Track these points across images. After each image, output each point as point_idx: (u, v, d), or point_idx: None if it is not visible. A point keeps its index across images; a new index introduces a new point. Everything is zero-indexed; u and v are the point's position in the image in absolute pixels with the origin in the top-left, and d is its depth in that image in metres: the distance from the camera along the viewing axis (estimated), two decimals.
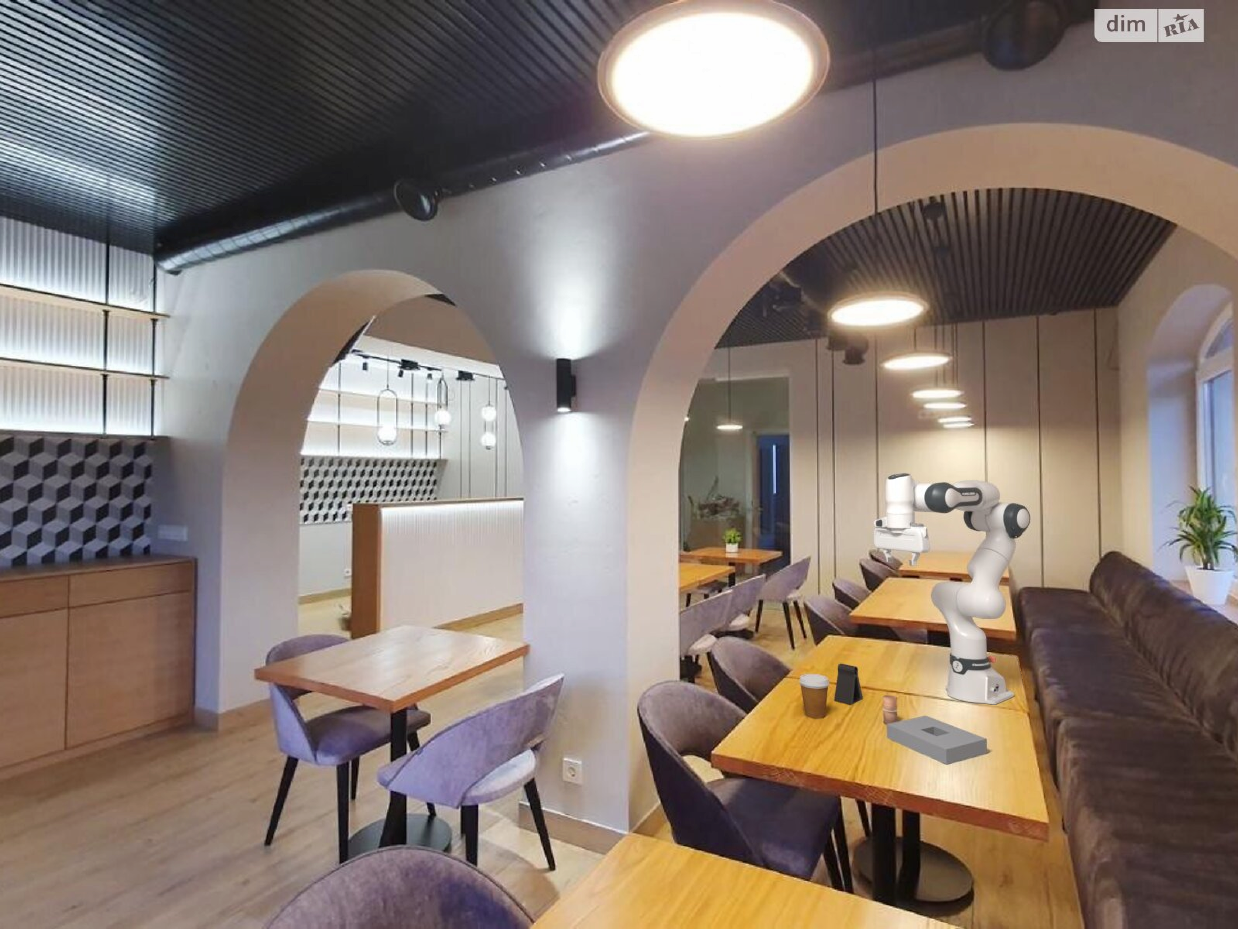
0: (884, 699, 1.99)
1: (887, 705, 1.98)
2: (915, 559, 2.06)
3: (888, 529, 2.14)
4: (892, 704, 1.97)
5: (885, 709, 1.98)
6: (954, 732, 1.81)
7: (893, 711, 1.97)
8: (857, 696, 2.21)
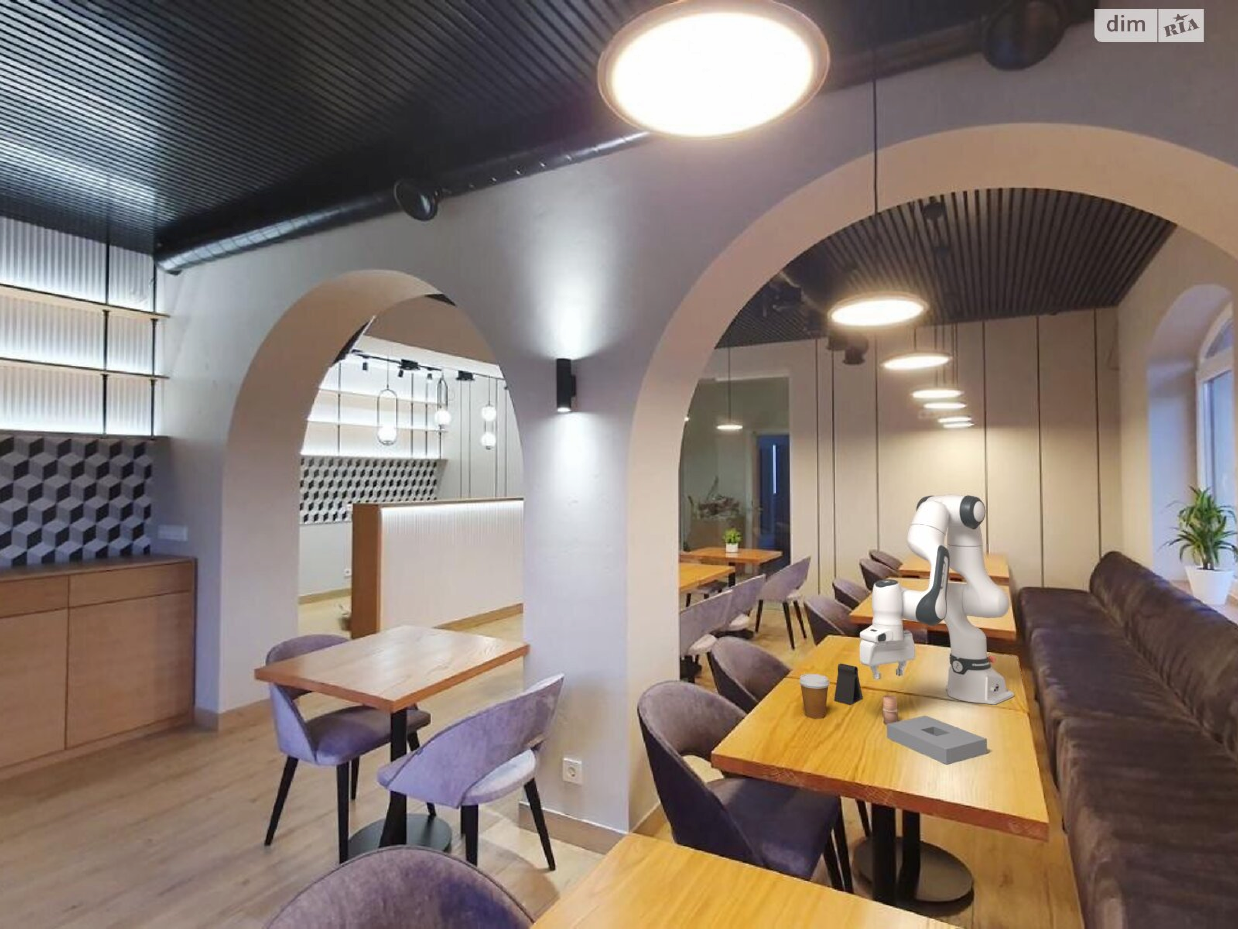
0: (884, 699, 1.99)
1: (887, 705, 1.98)
2: None
3: (885, 642, 1.97)
4: (892, 704, 1.97)
5: (885, 709, 1.98)
6: (954, 732, 1.81)
7: (893, 711, 1.97)
8: (857, 696, 2.21)
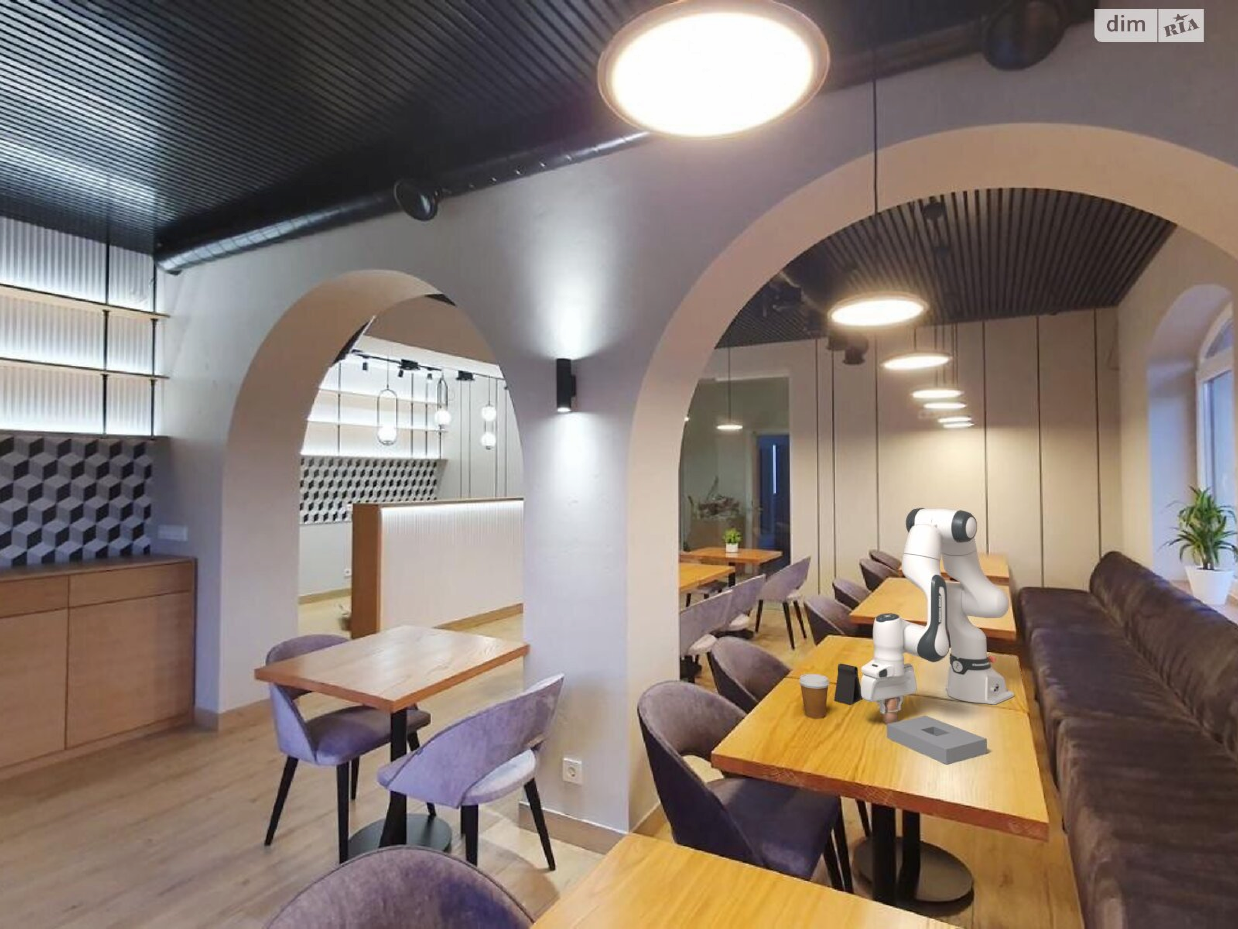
0: None
1: (887, 704, 1.98)
2: None
3: None
4: (892, 704, 1.97)
5: None
6: (954, 732, 1.81)
7: (893, 711, 1.97)
8: (857, 696, 2.21)
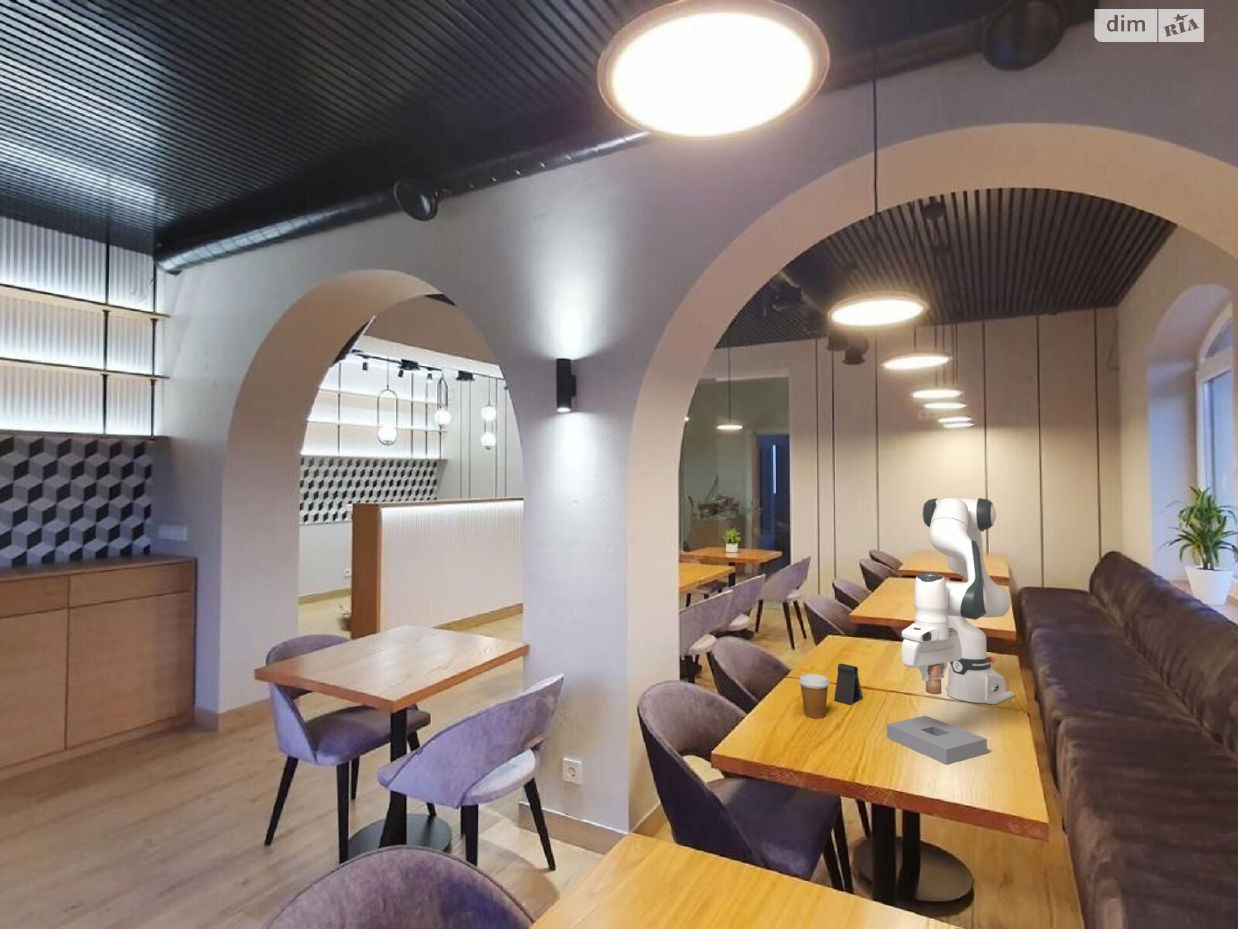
0: None
1: (930, 671, 1.81)
2: None
3: None
4: (936, 671, 1.81)
5: None
6: (954, 732, 1.81)
7: (937, 678, 1.80)
8: (857, 696, 2.21)
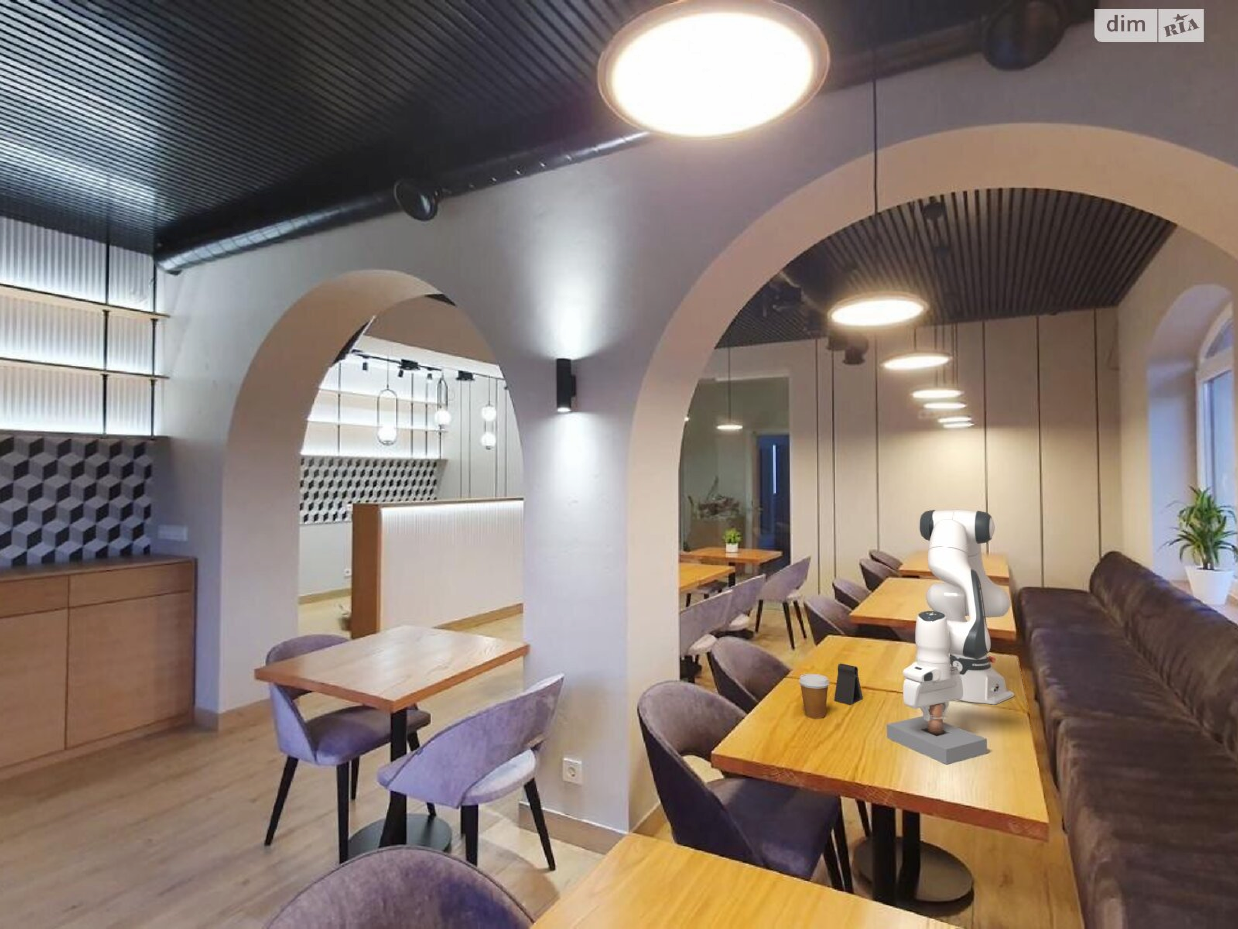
0: None
1: (931, 711, 1.81)
2: None
3: None
4: (938, 711, 1.80)
5: None
6: (954, 732, 1.81)
7: (938, 718, 1.80)
8: (857, 696, 2.21)
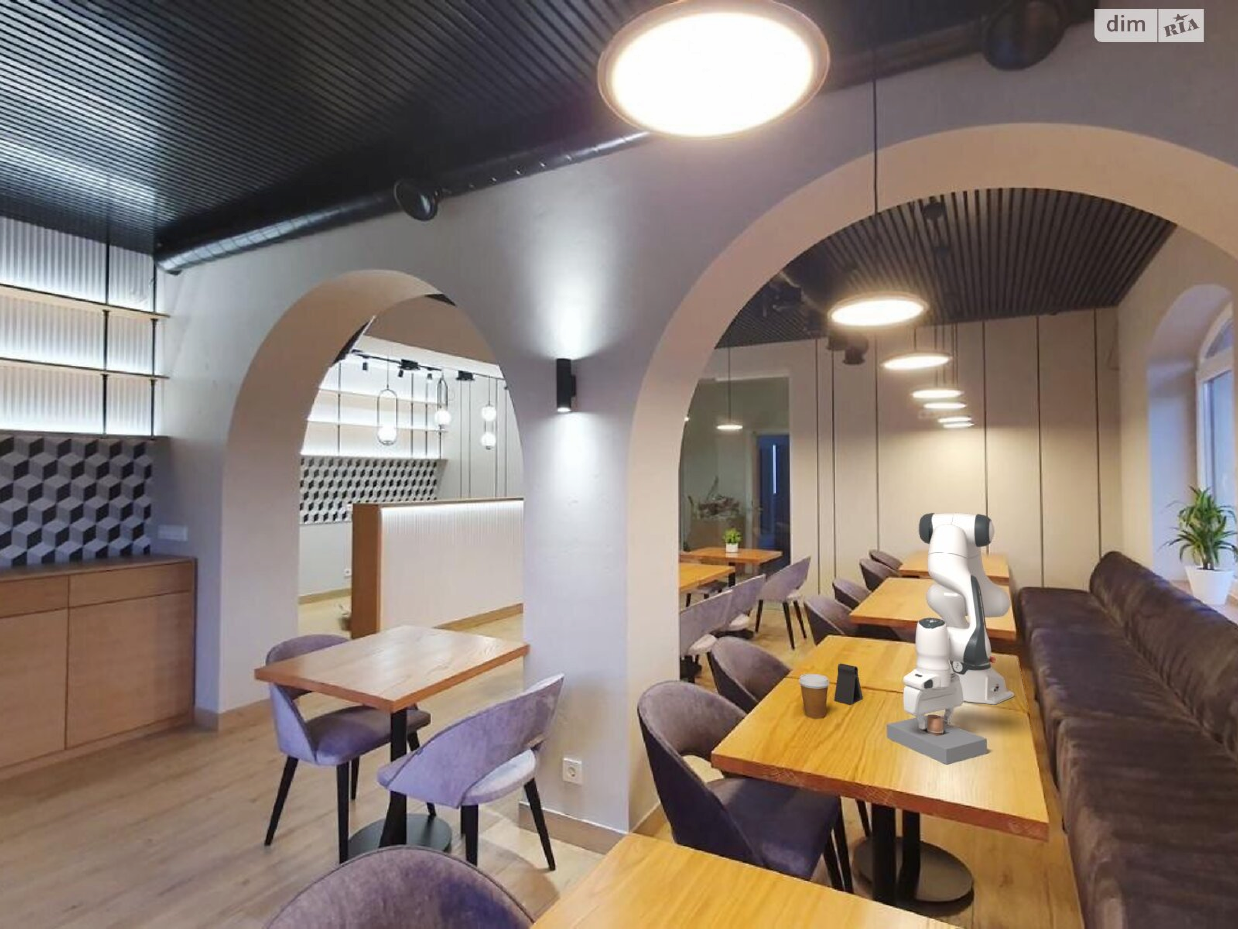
0: (929, 719, 1.82)
1: (932, 725, 1.81)
2: None
3: None
4: (938, 725, 1.80)
5: (930, 730, 1.81)
6: (954, 732, 1.81)
7: (939, 732, 1.80)
8: (857, 696, 2.21)
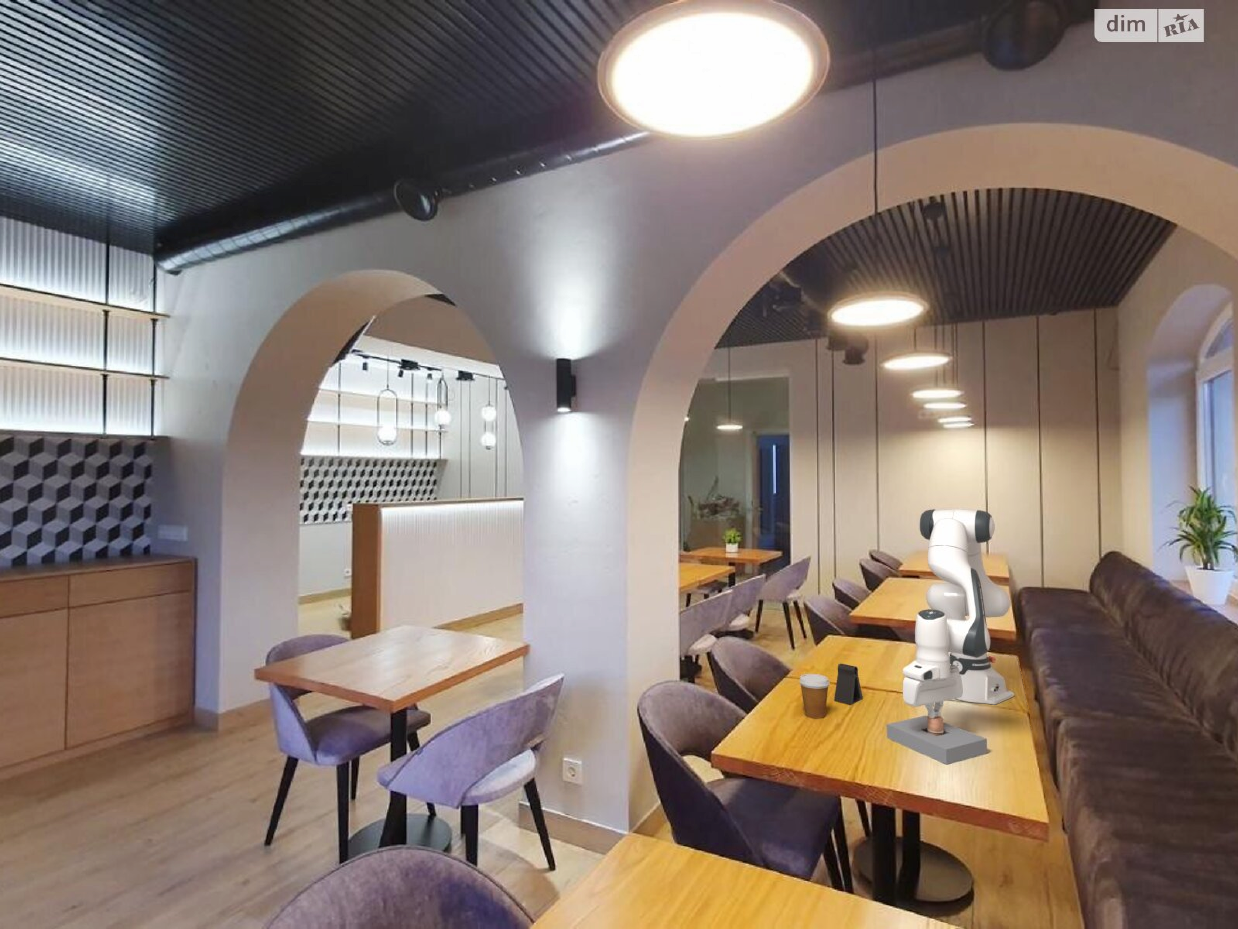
0: (929, 719, 1.82)
1: (932, 725, 1.81)
2: None
3: None
4: (938, 725, 1.80)
5: (930, 730, 1.81)
6: (954, 732, 1.81)
7: (939, 732, 1.80)
8: (857, 696, 2.21)
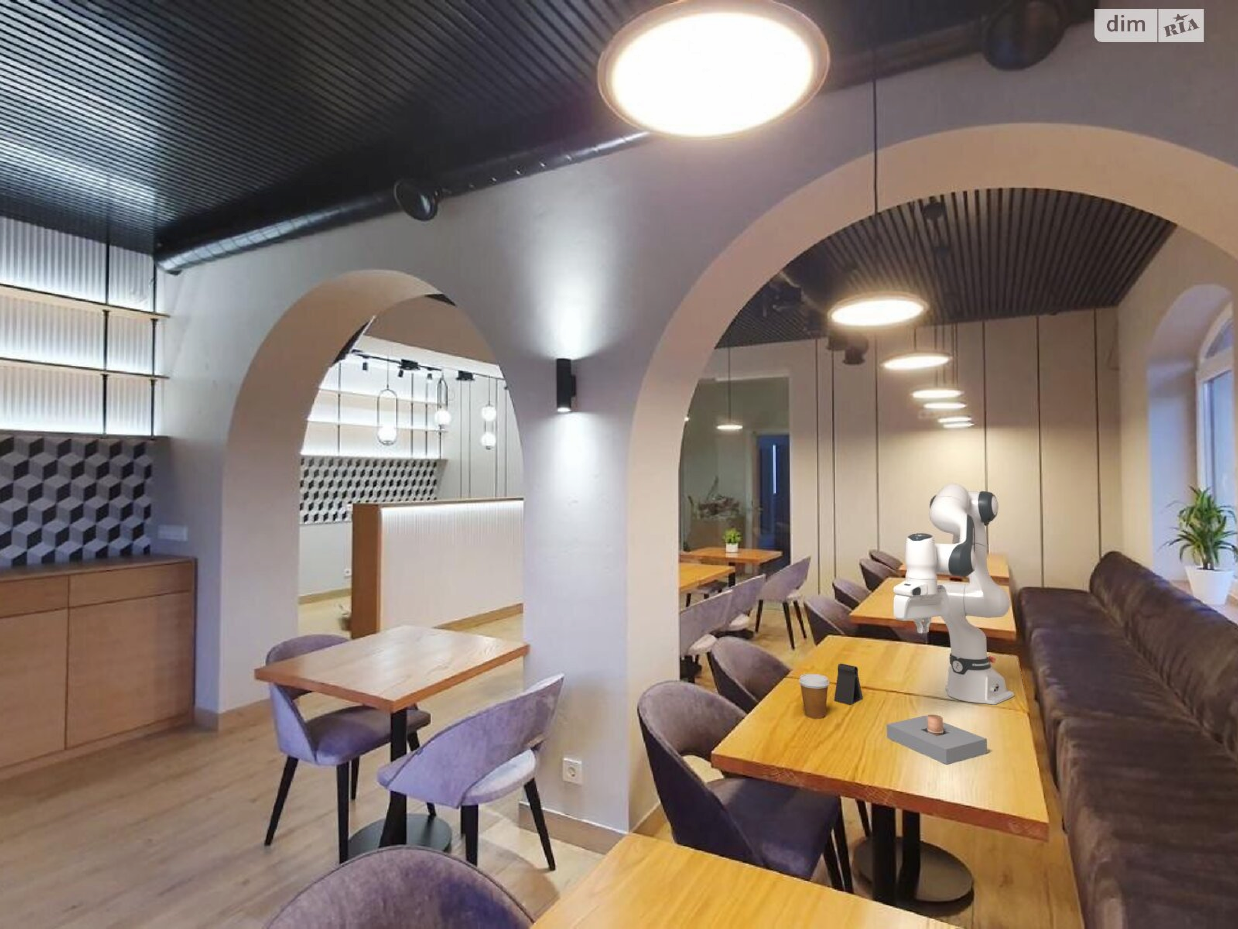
0: (929, 719, 1.82)
1: (932, 725, 1.81)
2: None
3: None
4: (938, 725, 1.80)
5: (930, 730, 1.81)
6: (954, 732, 1.81)
7: (939, 732, 1.80)
8: (857, 696, 2.21)
